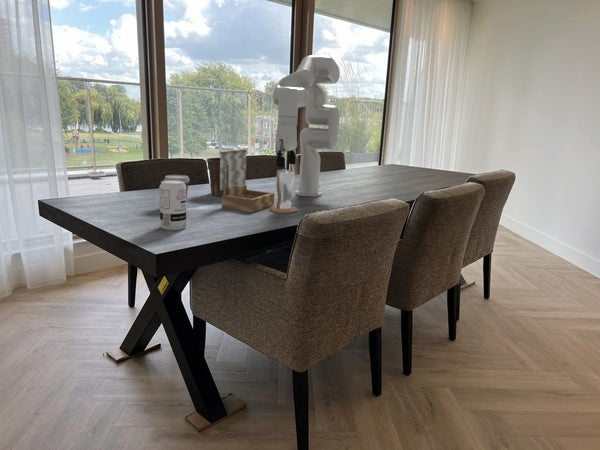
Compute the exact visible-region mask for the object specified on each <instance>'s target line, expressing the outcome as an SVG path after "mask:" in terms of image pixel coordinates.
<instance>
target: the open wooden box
mask: <svg viewBox="0 0 600 450" xmlns="http://www.w3.org/2000/svg"><path fill="white" fill-rule="evenodd" d="M247 152H248V151H247V149H244V148H243V149H242V148H241V149H233V150H222V151H219V158H220V190H224V189H225V190H224V192H223V195H222V196H221V208H223V209H229V210H234V211H235V210H236V211H242V212H247V213H248V212H249V213H254V212H257V211H260V210H263V209H266V208H268V207H269V208H270V207H272V206H275V192H268V191H262V190H255V189H254V190H253V189H247V186H248V185H247V184H246V183H247V182H246V181H247V180H246V178H247V175H246V174H247V173H246V172H247ZM237 186H238V187H237ZM233 187H234V188H233Z"/></svg>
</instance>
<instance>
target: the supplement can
mask: <svg viewBox="0 0 600 450" xmlns="http://www.w3.org/2000/svg"><path fill="white" fill-rule="evenodd" d="M160 182H161V183H160V185H159V217H160V218H159V220H160V221H159V222H160V227H161V229H163V230H166V231H181V230H184V229H185V227H187V199H186V185H185V184H184V182H183V181H178V180H166V181H164V180H162V181H160Z"/></svg>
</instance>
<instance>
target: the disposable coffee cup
mask: <svg viewBox="0 0 600 450" xmlns="http://www.w3.org/2000/svg"><path fill="white" fill-rule="evenodd" d="M166 180H178V181H183V182H184V184H185V185H186V200H187V197H188V189H189V183H190V178H189V176H188V175H181V174H168V175H165V177H164V179H163V181H166Z"/></svg>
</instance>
